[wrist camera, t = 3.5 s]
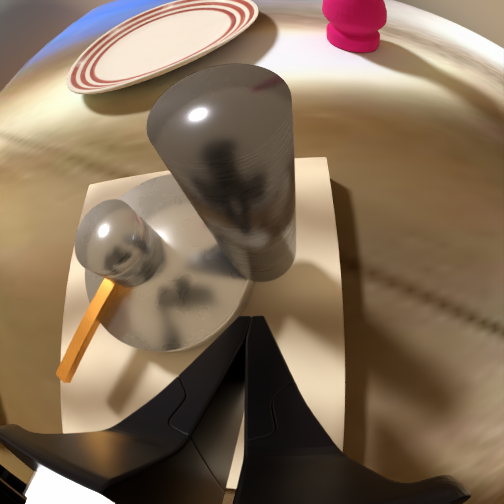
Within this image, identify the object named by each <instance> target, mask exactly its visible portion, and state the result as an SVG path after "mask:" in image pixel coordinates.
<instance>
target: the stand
mask: <svg viewBox="0 0 504 504" xmlns="http://www.w3.org/2000/svg"><path fill="white" fill-rule="evenodd" d="M294 160H295V193H296V256H295V259H294V262H293V264H292V266H291V267H290V269H289V270H288V271H287V272H286V273H285V274H284V275H282V276H281V277H279V278H277V279H275V280H272V281H268V282H256V281H255V284H254V288H253V291H252V294H251V296H250V299H249V301H248V303H247V305H246V307H245V309H244V310H243V312H242V313H241V314H240V316H251V317H252V316H264V317H265V318H266V320H267V323H268V325H269V327H270V329H271V331H272V333H273V336H274V338H275V340H276V342H277V344H278V346H279V348H280V351H281V353H282V355H283V357H284V359H285V361H286V363H287V366H288V368H289V370H290V372H291V374H292V376H293V378H294V381H295V382H296V384H297V387H298V389H299V391H300V393H301V394H302V396H303V398H304V400H305V402H306V403H307V405H308V407H309V408H310V410H311V411H312V413H313V414H314V416H315V417H316V418H317V420H318V421H319V422H320V424H321V425H322V427H323V428H324V429H325V431H326V432H327V433H328V435H329V436H330V438H331V439H332V440H333V442H334V443H335V444H336V445H337V447H338V448H339V449H340V450H341V451H342V452H343V437H344V412H345V343H344V317H343V299H342V284H341V271H340V260H339V249H338V240H337V230H336V222H335V214H334V206H333V199H332V191H331V185H330V178H329V172H328V165H327V159H326V157H318V158H294ZM168 174H171V173H170V171H162V172H156V173H150V174H144V175H138V176H132V177H127V178H121V179H116V180H111V181H106V182H101V183H96V184H91V185H89V188H88V192H87V195H86V199H85V202H84V206H83V210H82V214H81V218H80V222H79V225H80V223H81V222H82V220H83V218H84V217H85V215H86V214H87V213H88V212H89V211H90V210H91V209H92V208H93V207H95V206H96V205H98V204H99V203H101V202H103V201H106V200H110V199H119V198H120V197H121V196H122V195H124V194H125V193H126V192H128V191H129V190H130V189H132V188H134V187H135V186H137V185H139V184H141V183H143V182H145V181H147V180H149V179H152V178H155V177H159V176H163V175H168ZM78 227H79V226H78ZM89 305H90V302H89V300H88V296H87V291H86V285H85V268H84V267H83V266H82V265H81V264H80V263H79V261H78V260H77V257H76V254H75V244H74V249H73V255H72V260H71V265H70V271H69V278H68V284H67V291H66V299H65V308H64V317H63V329H62V344H61V361H62V359H63V357H64V355H65V353H66V351H67V348H68V346H69V344H70V342H71V340H72V338H73V336H74V334H75V332H76V330H77V328H78V326H79V324H80V322H81V320H82V318H83V316H84V315H85V313H86V311H87V309H88V307H89ZM213 341H214V340H213ZM213 341H211V342H210V343H208V344H206V345H203V346H201V347H199V348H196V349H192V350H189V351H182V352H157V351H147V350H141V349H137V348H134V347H131V346H129V345H127V344H125V343H123V342H121V341H119V340H118V339H116V338H115V337H114V336H112V335H111V334H110V333H109V332H108V331H107V330H106V329H105V328H104V327H103V326H102V324H101V323H100V325H99V326H98V328H97V330H96V332H95V334H94V336H93V338H92V340H91V342H90V344H89V346H88V348H87V350H86V352H85V354H84V356H83V358H82V360H81V362H80V364H79V366H78V368H77V370H76V372H75V374H74V376H73V378H72V381H71V383H63V382H62V380H61V412H62V426H63V433H81V432H94V431H101V430H105V429H108V428H110V427H112V426H114V425H116V424H117V423H119V422H121V421H122V420H123V419H125V418H126V417H128V416H129V415H130V414H132V413H133V412H135V411H136V410H137V409H139V408H140V407H141V406H143V405H144V404H146V403H147V402H148V401H149V400H151V399H152V398H153V397H155V396H156V395H157V394H158V393H160V392H161V391H162V390H163V389H164V388H165V387H166V386H167V385H169V384H170V383H171V382H172V381H173V380H174V379H175V378H176V377H179V374H180V373H181V372H182V371H184V370H185V369H186V368H187V367H188V366H189V365H190V364H191V363H192V362H193V361H194V360H195V359H196V358H197V357H198V356H199V355H200V354H201V353H202V352H203V351H204V350H205V349H206V348H207V347H208V346H209V345H210V344H211V343H212V342H213ZM243 455H244V414H243V419H242V423H241V427H240V432H239V436H238V440H237V445H236V449H235V453H234V457H233V461H232V465H231V469H230V473H229V478H228V482H227V486H226V488H232V489H236V488H237V484H238V480H239V476H240V471H241V467H242V463H243Z"/></svg>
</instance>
